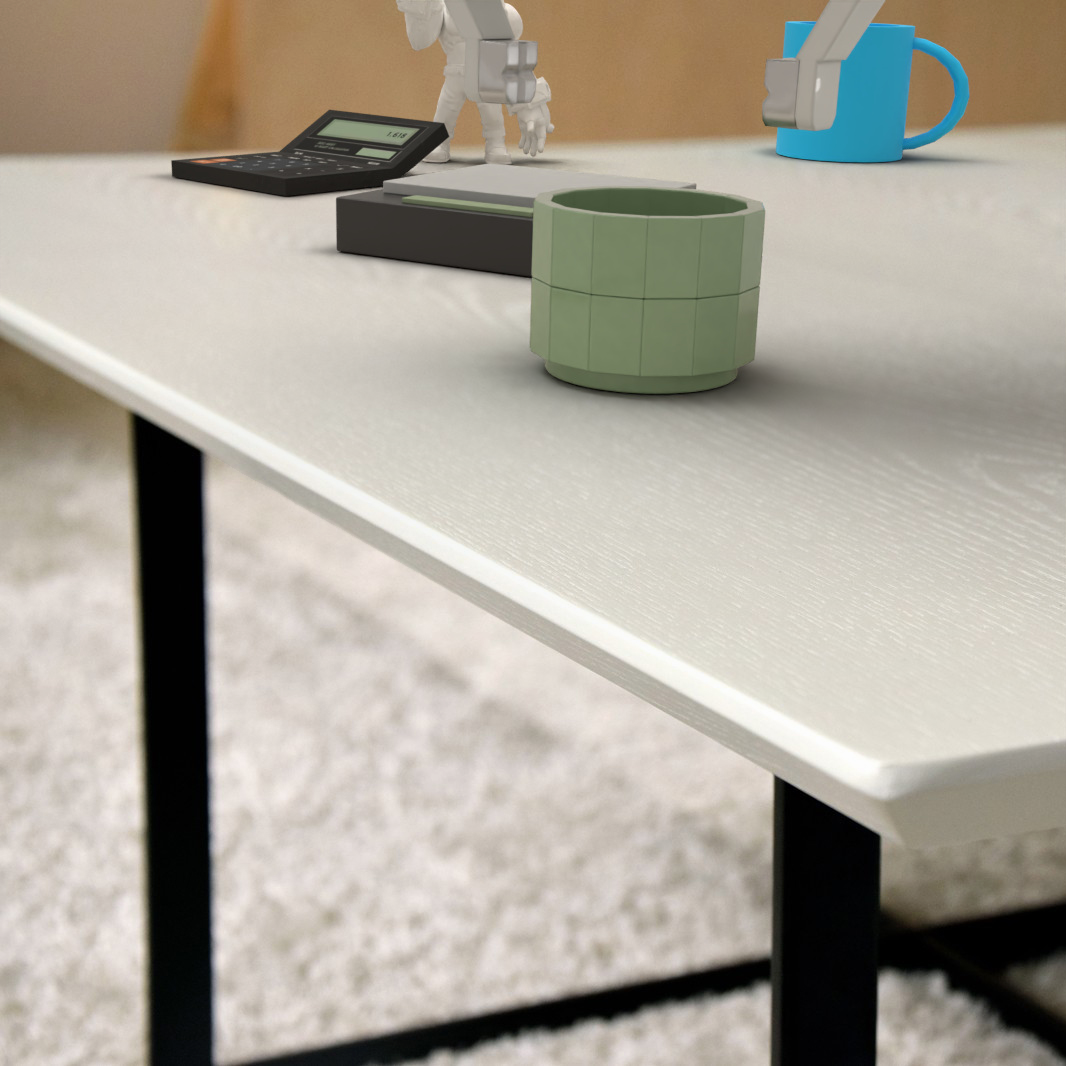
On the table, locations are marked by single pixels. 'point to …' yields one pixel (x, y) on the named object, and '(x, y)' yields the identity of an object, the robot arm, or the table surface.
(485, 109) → the figurine
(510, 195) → the scale
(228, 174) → the calculator
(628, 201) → the pot
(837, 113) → the mug
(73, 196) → the table surface
